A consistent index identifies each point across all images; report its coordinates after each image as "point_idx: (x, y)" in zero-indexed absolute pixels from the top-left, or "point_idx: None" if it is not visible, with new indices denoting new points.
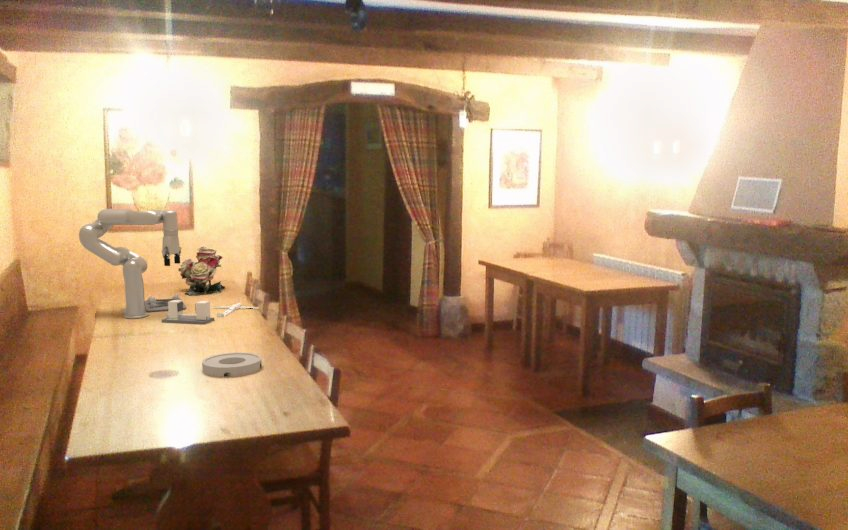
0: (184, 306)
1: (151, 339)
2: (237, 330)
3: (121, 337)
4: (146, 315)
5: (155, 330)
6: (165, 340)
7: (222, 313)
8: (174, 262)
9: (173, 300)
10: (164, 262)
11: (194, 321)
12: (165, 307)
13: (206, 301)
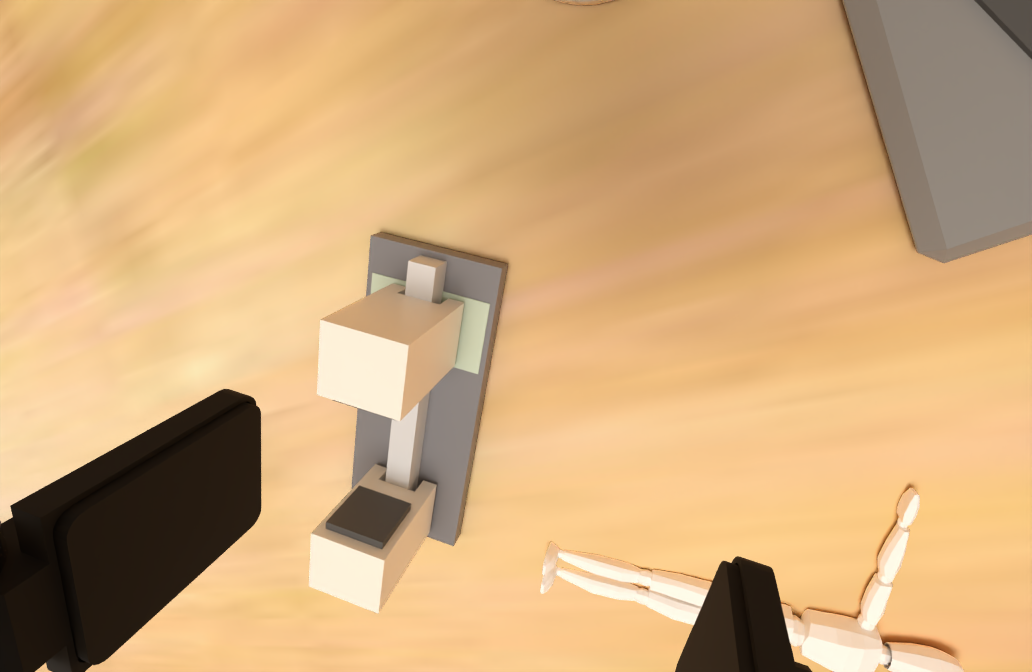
0: (939, 251)
1: (46, 320)
2: (271, 637)
3: (24, 146)
4: (571, 2)
5: (190, 274)
6: (54, 387)
7: (541, 588)
8: (730, 573)
9: (381, 350)
10: (153, 434)
11: (355, 454)
12: (890, 65)
13: (370, 595)
